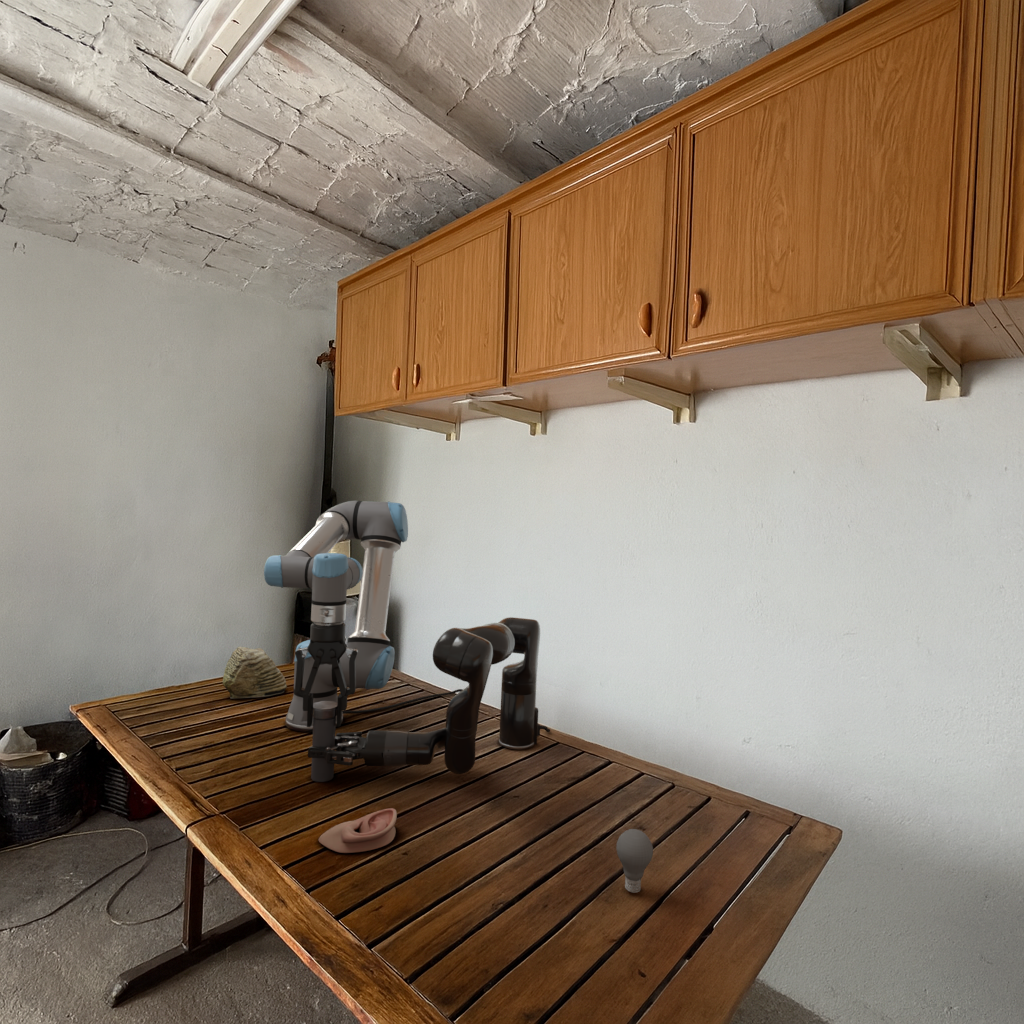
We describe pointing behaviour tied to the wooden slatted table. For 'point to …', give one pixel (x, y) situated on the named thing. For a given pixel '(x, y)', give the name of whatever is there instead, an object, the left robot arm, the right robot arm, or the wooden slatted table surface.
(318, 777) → the dark grey cylinder
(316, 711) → the lid
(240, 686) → the fossil
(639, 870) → the light bulb
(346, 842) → the anatomical model
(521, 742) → the right robot arm
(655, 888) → the wooden slatted table surface
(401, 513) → the left robot arm
